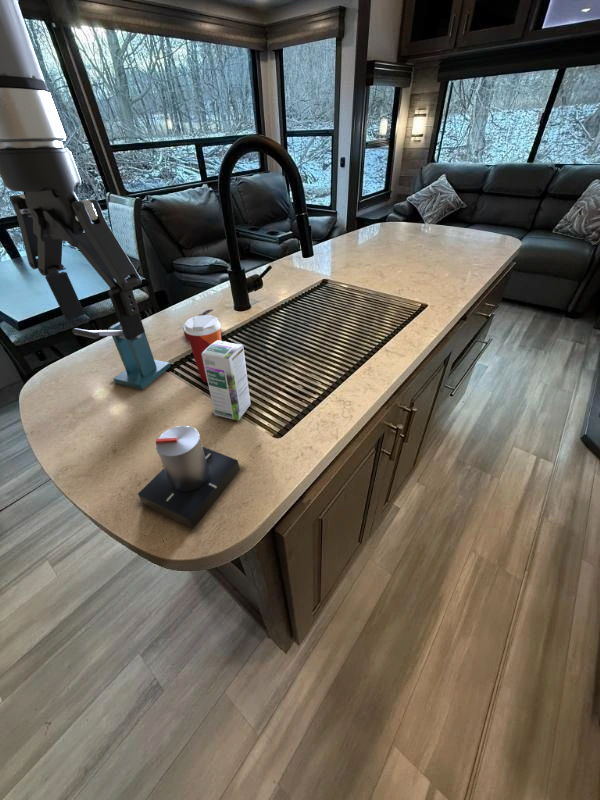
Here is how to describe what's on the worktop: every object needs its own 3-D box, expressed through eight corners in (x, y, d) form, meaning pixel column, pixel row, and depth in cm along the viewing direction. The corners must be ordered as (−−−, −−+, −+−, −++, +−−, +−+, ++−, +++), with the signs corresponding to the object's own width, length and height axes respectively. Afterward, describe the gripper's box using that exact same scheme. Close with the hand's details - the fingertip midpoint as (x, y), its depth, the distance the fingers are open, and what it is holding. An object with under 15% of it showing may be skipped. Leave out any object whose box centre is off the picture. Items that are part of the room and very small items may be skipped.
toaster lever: (94, 342, 62) (93, 329, 62) (72, 337, 64) (72, 324, 63) (143, 340, 73) (143, 329, 73) (123, 336, 75) (123, 325, 74)
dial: (211, 460, 55) (201, 422, 49) (206, 490, 50) (195, 452, 45) (174, 462, 54) (160, 425, 49) (166, 493, 49) (149, 456, 44)
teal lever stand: (142, 389, 74) (122, 338, 66) (114, 382, 77) (92, 332, 69) (170, 366, 82) (155, 318, 74) (144, 361, 84) (127, 313, 76)
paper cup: (226, 386, 75) (215, 329, 66) (192, 386, 75) (177, 329, 67) (232, 367, 81) (223, 313, 73) (201, 367, 81) (188, 313, 73)
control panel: (193, 529, 48) (189, 519, 46) (141, 503, 51) (136, 493, 50) (240, 470, 56) (238, 459, 54) (193, 451, 60) (189, 440, 58)
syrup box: (213, 415, 67) (199, 353, 58) (228, 398, 71) (216, 338, 62) (238, 421, 66) (227, 358, 57) (252, 404, 70) (243, 343, 61)
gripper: (-67, 147, 38) (30, 319, 51) (66, 146, 29) (142, 357, 42) (4, 145, 43) (75, 302, 56) (136, 144, 34) (184, 332, 47)
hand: (104, 326), depth 49 cm, fingers open, 13 cm apart
